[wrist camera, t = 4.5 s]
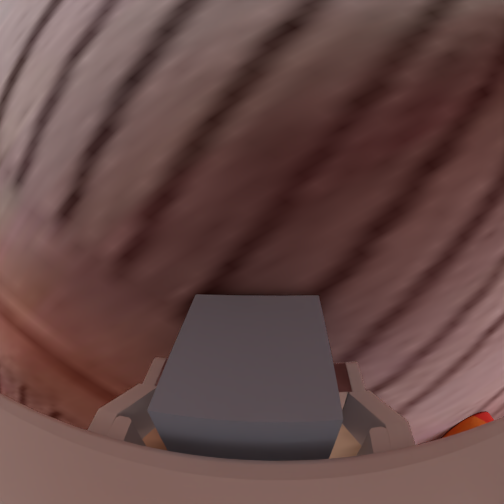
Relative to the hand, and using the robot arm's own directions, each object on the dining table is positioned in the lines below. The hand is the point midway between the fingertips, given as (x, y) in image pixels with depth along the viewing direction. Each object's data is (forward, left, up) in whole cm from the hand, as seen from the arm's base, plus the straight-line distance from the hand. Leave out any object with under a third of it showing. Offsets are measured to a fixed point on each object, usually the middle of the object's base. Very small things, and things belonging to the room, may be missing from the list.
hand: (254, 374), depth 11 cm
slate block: (0, 0, -2) cm, 2 cm away
